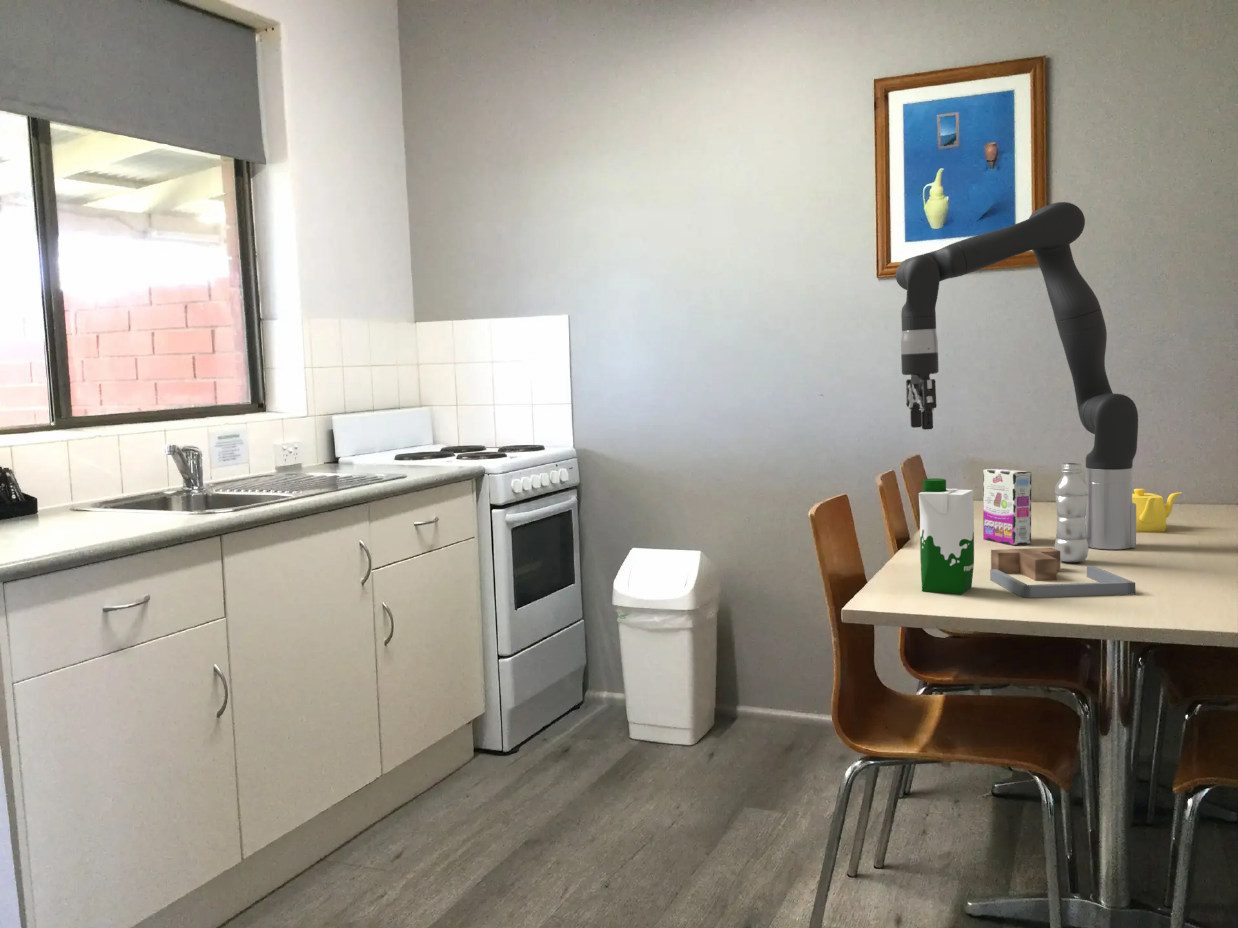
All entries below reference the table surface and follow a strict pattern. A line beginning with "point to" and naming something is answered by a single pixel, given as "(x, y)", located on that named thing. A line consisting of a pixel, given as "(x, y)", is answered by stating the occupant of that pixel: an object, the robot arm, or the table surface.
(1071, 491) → the plastic bottle
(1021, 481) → the candy bar box
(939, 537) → the soya milk
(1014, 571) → the t block
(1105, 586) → the bay frame
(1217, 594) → the table surface
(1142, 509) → the teapot
